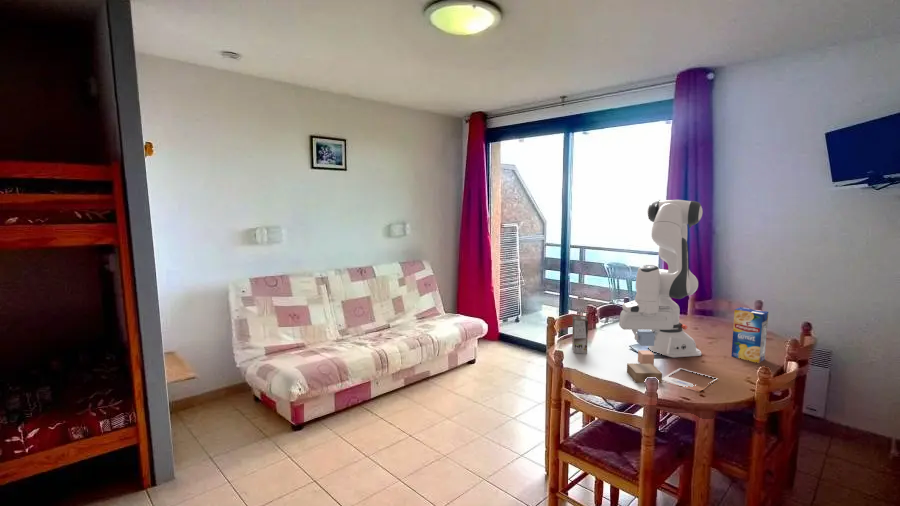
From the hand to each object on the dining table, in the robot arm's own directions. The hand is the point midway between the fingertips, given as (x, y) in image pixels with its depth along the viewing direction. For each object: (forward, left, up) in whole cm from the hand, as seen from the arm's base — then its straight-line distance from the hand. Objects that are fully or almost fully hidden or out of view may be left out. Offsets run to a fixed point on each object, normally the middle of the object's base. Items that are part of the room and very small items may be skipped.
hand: (645, 339), depth 173 cm
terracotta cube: (-7, -16, -16) cm, 24 cm away
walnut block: (0, 0, -16) cm, 16 cm away
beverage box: (-55, -23, -16) cm, 62 cm away
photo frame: (-17, +2, -17) cm, 24 cm away
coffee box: (+18, -32, -16) cm, 40 cm away
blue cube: (0, 0, -2) cm, 2 cm away
